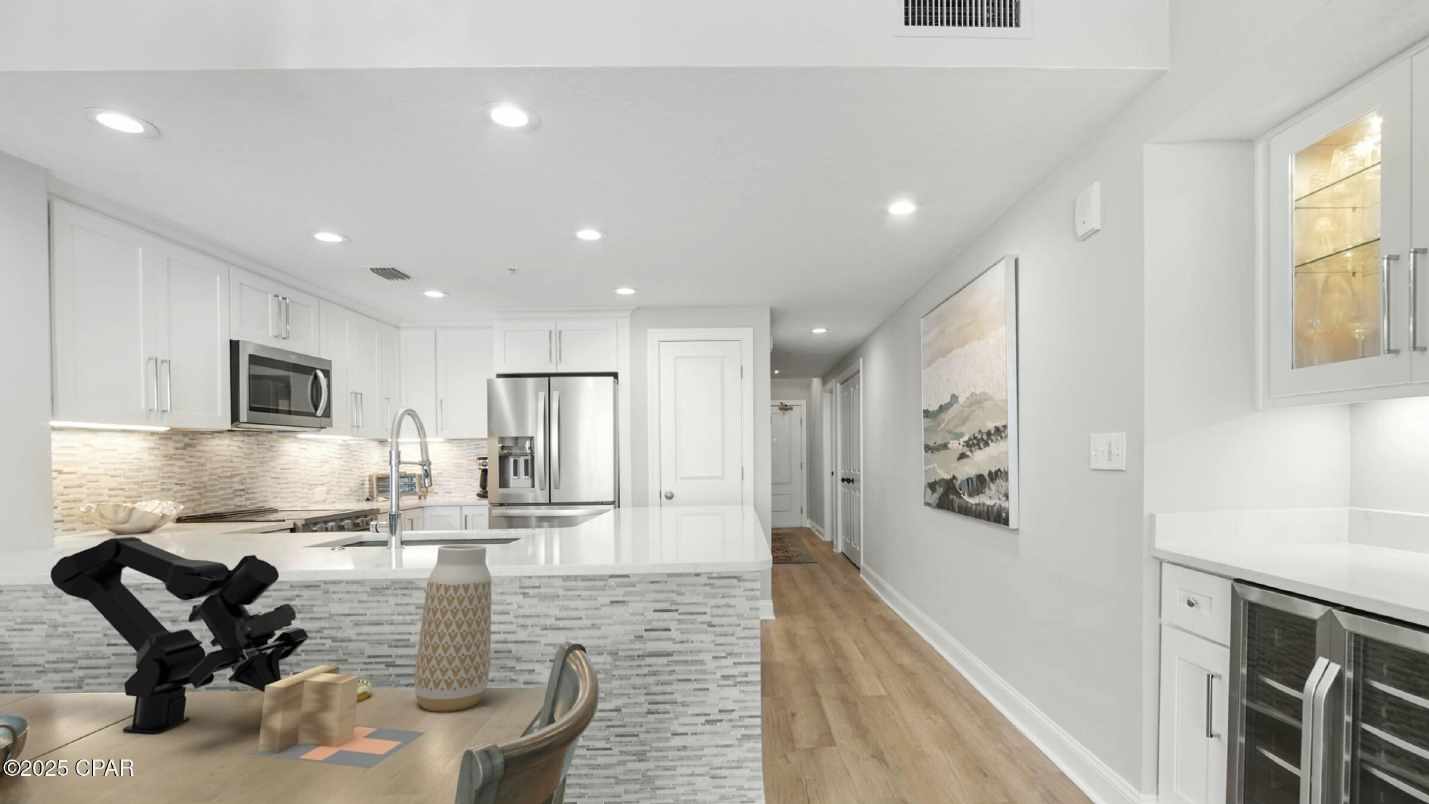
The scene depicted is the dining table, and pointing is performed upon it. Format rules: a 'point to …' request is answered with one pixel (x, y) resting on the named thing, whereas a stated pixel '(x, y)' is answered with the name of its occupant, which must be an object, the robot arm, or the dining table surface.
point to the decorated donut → (363, 689)
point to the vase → (455, 631)
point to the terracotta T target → (354, 745)
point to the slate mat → (350, 756)
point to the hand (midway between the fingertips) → (279, 694)
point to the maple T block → (309, 710)
